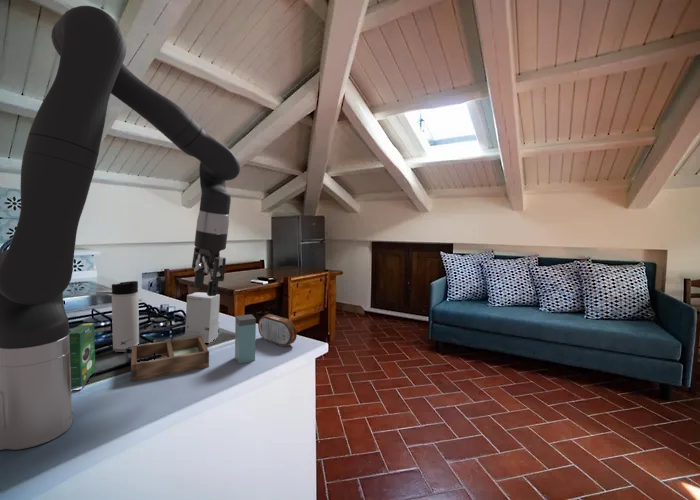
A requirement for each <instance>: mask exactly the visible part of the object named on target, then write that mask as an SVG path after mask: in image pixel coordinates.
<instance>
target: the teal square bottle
mask: <svg viewBox="0 0 700 500" xmlns="http://www.w3.org/2000/svg"><path fill="white" fill-rule="evenodd" d="M234 322H235V324H234V325H235V329H234V330H235V331H234V358H235V360H236V361H237V363H238V364H243V363H248V362H254V361H256V337H257V336H256V334H257V331H256V330H257V318H256V317H255V316H254V315H253V314H243V315H235V321H234Z"/></svg>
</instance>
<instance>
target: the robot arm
mask: <svg viewBox="0 0 700 500" xmlns="http://www.w3.org/2000/svg"><path fill="white" fill-rule="evenodd" d="M50 37H51V41H52V45H53V47H54V49H55V51H56V53H58V55H59V56H60V57H59V63H58V68H57V73H56V76H55V77H54V81H53V83H52V84H51V87H50V88H49V90H48V91H47V93H46V95H45V98H44V99H43V101H42V103H41V104H40V106H39V108H38V110H37V112H36V114H35V117H34V119H33V122H32V124H31V126H30V129H29V132H28V136H27V138H26V143H25V148H24V151H23V155H22V161H21V166H20V169H21V170H20V213H19V218H18V221H17V224H16V228H15V230H14V233H13V236H12V239H11V241H10V244H9V246H8V249H6V250H3V251H2V252H0V451H2V450H12V451H14V450H23V449H29V448H32V447H36V446H40V445H43V444H45V443H47V442H50V441H53V440H54V439H56V438H58V437H59V436H61V435H63V434H64V433H66V432H67V431H68V430H69V429H70V428H71V427H72V424H73V405H72V404H73V401H72V399H73V398H72V391H71V369H70V341H69V331H70V324H69V318H68V315H67V313H66V308H65V304H64V295H63V293H64V292H65V291H66V289H67V288H68V286H69V285H70V283H71V280H72V278H73V270H74V269H73V268H74V259H75V251H76V240H77V233H78V227H79V223H80V221H81V220H80V219H81V216H82V213H83V211H84V208H85V205H86V202H87V198H88V194H89V191H90V187H91V183H92V181H93V178H94V174H95V170H96V165H97V161H98V158H99V153H100V149H101V148H100V147H101V143H102V139H103V133H104V129H105V123H106V118H107V117H106V116H107V111H108V105H109V100H110V98H111V95H113V96H114V97H115V98H116V99H118V100H120V101H121V102H122V103H123V104H125V105H126V106H128V107H129V109H132V110H133V111H134V112H136V113H137V114H139V115H140V117H142V118H143V119H144V120H145V121H147V122H148V123H150V124H151V125H152V126H153V127H154V128H155V129H156V130H158V131H159V132H160V133H161V134H162V135H164V136H165V137H166V138H167V139H168V140H169V141H171V142H172V144H174V145H175V146H176V147H177V148H178V149H179V150H180V151H182V152H183V153H185V154H186V155H188V156H190V157H193V158H195V159H196V160H198V161H199V162H200V163H199V168H198V170H199V172H198V173H199V183H200V190H201V192H200V193H201V196H200V202H199V211H198V215H197V220H196V226H195V237H194V246H195V247H194V249H193V256H192V262H191V263H192V264H191V267H192V269H193V271H194V281H193V285H194V287H203V286H204V283H205V282H204V281H205V274H207V277H208V283H207V291H206V293H207V295H208V296H216V295H217V294H218V288H219V287H218V286H219V282H224V280H225V271H226V263H227V262H226V261H227V258H226V257H222V256H220V253H221V251H224V250H225V249H227V240H228V233H229V225H230V219H229V218H230V217H229V216H230V209H231V201H232V200H231V199H232V198H231V197H232V196H231V193H230V192H228V191H227V189H226V181H231V180H235V179H236V178H237V177H238V176H239V174H240V172H241V164H240V161H239V159H238V157H237V156H236V155H235V154H234V152H233V151H231V149H229V148H228V147H226V145H224V144H223V143H221V142H220V141H218V140H217V139H216V138H215V137H213V136H212V135H211V134H209V133H208V132H206V130H205V129H204V128H203V127H202V126H201V125H200V124H199V123H198V122H196V120H195V119H193V117H192V116H191V115H190V114H188V112H186V111H185V110H184V109H183V108H182V107H181V106H179V105H178V104H176V103H175V102H174V101H172V100H171V99H170V98H168V97H166V96H165V95H162V94H161V93H160V92H158V91H156V90H154V89H153V88H152V87H151V86H148V85H147V84H146V83H144V82H143V81H142V80H141V79H140V78H138V77H137V76H136V75H135V74H134V73H133V72H132V71H131V70H129V68H128V67H127V66H126V65H125V64H124V61H125V58H126V55H127V43H126V38H125V36H124V33H123V31H122V29H121V27H120V25H119V24H118V23H117V21H116V19H114V18H113V17H112V16H111V15H110V14H109V13H108V12H106V11H105V10H103V9H101V8H99V7H96V6H91V5H79V6H75V7H72V8H70V9H68V10H66V11H65V12H64V14H63V15H62V16H61V17H59V19H58V20H57V21H56V23H55V24H54V25H53V27H52V30H51V36H50Z"/></svg>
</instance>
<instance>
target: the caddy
mask: <svg viewBox="0 0 700 500" xmlns="http://www.w3.org/2000/svg"><path fill="white" fill-rule="evenodd" d="M154 353H155V354H158V355H161V356H167V358H161V359H155V360H154V359H152V360H149V361H140V362H137V360H139V359H144V358H148V357H150V356H152V355H153V354H154ZM130 357H131V358H130V359H131V361H130V362H131V363H130V369H131V370H130V376H131V377H130V378H131V381H130V382H137V381H141V380H147V379H152V378H156V377H162V376H167V375H172V374H177V373H183V372H188V371H193V370H199V369H203V368H208V367H210V351H209V349H208V347H207V344H205V343H204V341H203V339H202V337H201V336H197V337H190V338H185V337H184V338H177V339H172V340H171V339H170V340H164V341H157V342H150V343H142V344H139V345H135V346H132V351H131V356H130Z"/></svg>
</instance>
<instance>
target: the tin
mask: <svg viewBox="0 0 700 500" xmlns="http://www.w3.org/2000/svg"><path fill="white" fill-rule="evenodd" d="M257 326H258V328H257V329H258V333H259V335H260V336H261V337H262V339H263V340H265V341H267V342H271V343H273V344H276V345H278V346H282V347H286V346H289V345H292V344H294V343H295V341H296V339H297V333H298V332H297V328H296V326H295V324H294V322H292V320H290V319H288V318H286V317H283V316H282V317H281V316H279V315H276V314H275V315H274V314H272V313H267V314H266V315H264V316H263V315H262V316H261V317H260V318H259V319H258V323H257Z"/></svg>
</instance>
